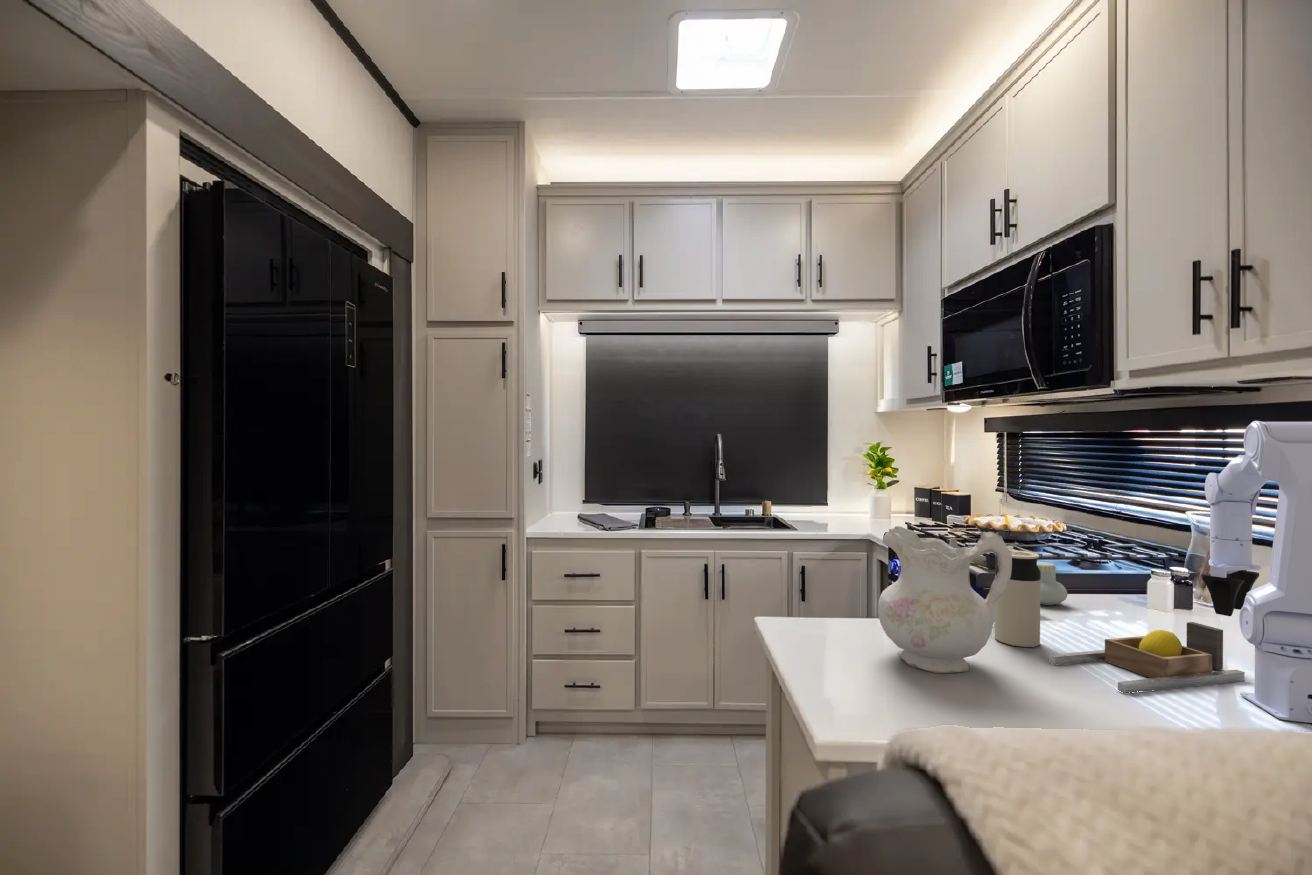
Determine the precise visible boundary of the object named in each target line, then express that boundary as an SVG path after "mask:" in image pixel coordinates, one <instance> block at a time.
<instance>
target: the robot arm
mask: <svg viewBox="0 0 1312 875" xmlns="http://www.w3.org/2000/svg"><path fill="white" fill-rule="evenodd" d="M1243 449H1244V453H1245V454H1238V455H1237V456H1235V457H1234V458H1233V459H1232V460H1230V462H1228V464H1227V465H1226V466H1225V467H1224V468H1223V470H1222V471H1220V473H1216V472H1209V473H1208V474H1207V476H1206V478H1205V482H1204V494H1205V495H1204V496H1205V499H1206V501H1207V502H1208V504H1210V507H1209V508H1210V512H1209V514H1210V516H1209V518H1210V519H1209V520H1210V522H1209V536H1210V537H1209V559H1208V565H1209V566H1210V573H1207V572H1203V573H1201V575H1200V577H1201V580H1202V581H1203V582H1204V584H1205V586H1206V588H1207V590H1208V592H1209V594H1210V598H1211V602H1212V605H1213V609H1214V612H1215V614H1216V615H1220V616H1225V617H1233V616H1232V615H1233V614H1234V610H1239V611H1240V612H1239V616H1238V617H1239V618H1238V620H1239V621H1238V622H1239V628H1240V632H1241V635H1242V636H1243V638H1244V639H1245V640H1246V641H1247V642H1248V643H1249V644H1250V645H1253V646H1254V692H1245V691H1241V692H1240V694H1239V695H1240V696H1242V697H1243V698H1245V699H1246V700H1248V701H1249V702H1251V703H1252V704H1254V705H1256V706H1258V707H1259V708H1261V709H1262V710H1264V711H1265V712H1267V713H1268V714H1271V715H1272V716H1274V717H1275V718H1276V719H1279V720H1283V721H1291V722H1300V723H1307V724H1308V723H1309V724H1312V421H1260V420H1253V421H1252V422H1250V424H1248V426H1246V428H1245V431H1244V434H1243ZM1268 481H1272V482H1275V483H1276V484H1277V486H1278V489H1279V490H1278V498H1277V507H1276V514H1275V515H1276V516H1275V523H1274V533H1273V540H1272V541H1273V542H1272V550H1271V556H1270V557H1271V558H1270V567H1269V573H1268V574H1269V575H1268V582H1266V583H1265V584H1263V585H1259V586H1258V587H1256V588H1254V589H1252V588H1253V586H1254V584H1255V583H1256V581H1258V579H1259V577H1260V573H1259V572H1257V571H1260V570H1261V569H1262V565H1258V564H1253V516H1255V515H1256V513H1257V503H1258V501H1259V496H1260V489H1261V488H1262V487H1264V485H1265V484H1266V483H1268ZM1252 570H1255V571H1252Z"/></svg>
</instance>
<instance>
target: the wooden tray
mask: <svg viewBox="0 0 1312 875" xmlns="http://www.w3.org/2000/svg"><path fill="white" fill-rule="evenodd" d="M1145 636H1146V635H1141V636H1140V635H1139V636H1131V637H1117V638H1116V637H1115V638H1105V639H1104V650H1105V661H1104V662H1106V663H1109V664H1112V665H1115V666H1117V667H1120V668H1123V669H1126V670H1128V671H1130V672H1133V673H1136V674H1139V675H1141V676H1144V677H1147V678H1148V679H1151V678H1160V677H1170V676H1179V675H1189V674H1199V673H1208V672H1213V669H1214V670H1223V669H1224V629H1221V628H1218V627H1213V626H1210V625H1205V624H1202V623H1198V622H1194V621H1188V622H1186V645H1182V652H1181V655H1180V656H1171V657H1161V656H1158V655H1155V654H1152V653H1149V652H1146V651H1143V650H1140V649H1139V644H1140V642H1141V640H1142V639H1143V638H1144V637H1145Z"/></svg>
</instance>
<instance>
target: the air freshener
mask: <svg viewBox="0 0 1312 875" xmlns="http://www.w3.org/2000/svg"><path fill="white" fill-rule="evenodd" d="M1037 566H1038V568H1039V570H1040V572H1041V579H1040V580H1041V583H1040V604H1042V605H1041V606H1055V604H1056V605H1059V604H1061V603H1063V602H1065V601H1066V599H1067V598H1068V591H1067V589H1066V587H1065V586H1064V585H1063V584H1062V583H1061V582H1058V581H1057V580H1056V579H1057V578H1056V573H1057V572H1056V565H1055V564H1054V563H1052V562H1045V561H1038V560H1037Z"/></svg>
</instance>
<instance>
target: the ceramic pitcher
mask: <svg viewBox="0 0 1312 875" xmlns="http://www.w3.org/2000/svg"><path fill="white" fill-rule="evenodd" d="M978 535H980V538H979V539H978V541H977V542H976V544H975V546H973V547H972V548H971V547H967V546H964V547H963V546H962V547H958V548H953V547H951V546H950V545H949V543H947V542H945V540H942V539H940V538H929V537H928V538H927V537H926V538H922V539H921V538H920V537H919V536H918V534H917V533H916V532H915V531H914V530H912V529H907V528H904V527H903V526H894V527H893V528H889V529H888V531H887V532H885V534H884V536H883V538H882V543H883V545H885V546H886V547H889V548H891V550H893V551H894V553H896V555H897V557H898V558H897V559H898V560H899V562H900V574H899V576H898V579H897V580H896V581H894V583H893V582H892V583H891V584H890V585H888V586H887V587H886V588H885V589H884V590H882V592H881V594H880V596H879V600H878V605H877V608H878V609H877V610H878V611H877V612H878V619H879V623H880V625H881V627H882V630H883V632H884V633H885V635H886V637H888V639H889V640H891V641H892V642H893V644H895V645H896V647H897V648H899V649H901V650H898V651H897V654H898V655H899V657H900V658H901V659H902V660H903V661H904V662H905V664H907V665H908V666H910V667H913V668H917V669H919V670H924V671H926V672H930V673H933V674H947V673H948V674H950V673H951V674H953V673H962V672H970V665H969V663H968V662H967V661H966V660H965V658H969V657H973V656H976V654H978V653H979V652H980V651H981V650H982V649H983V648H984V647H985V646H986V645H987V643H988V642H989V639H990V637H991V635H992V630H993V625H994V624H995V620H996V603H997V601H998V599H999V598H1000V597H1001V596H1002V595H1003V592H1004V590H1005V588H1006V586H1007V584H1008V581H1009V579H1010V577H1011V571H1012V556H1011V553H1010V551H1009V550H1010V549H1009V547H1008V546H1007V545H1006V543H1005V541H1004V539H1003V537H1002V535H999V532H998V531H996V532H995V531H993V530H992V531H987V532H986V531H982V532H979V533H978ZM989 553H993V554H994V555H996V557H997V563H998V566H999V571H998V573H997V575H996V577H995V576H994V579H993V581H992V583H991V585H990V588H989V592H988V594H987V595H986V598H983V597H982V596H981V595H980V594H979V593H977V592H976V591H975V590H974V589H973V587H972V586H971V583H970V584H969V581H968V575H969V576H970V566H971V563H972V562H973V561H974V560H977V559H978V558H979V557H980V556H982V555H985V554H989Z"/></svg>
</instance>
